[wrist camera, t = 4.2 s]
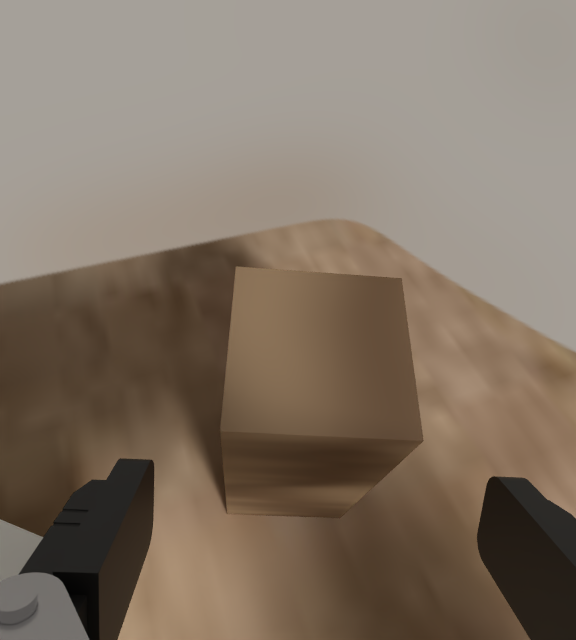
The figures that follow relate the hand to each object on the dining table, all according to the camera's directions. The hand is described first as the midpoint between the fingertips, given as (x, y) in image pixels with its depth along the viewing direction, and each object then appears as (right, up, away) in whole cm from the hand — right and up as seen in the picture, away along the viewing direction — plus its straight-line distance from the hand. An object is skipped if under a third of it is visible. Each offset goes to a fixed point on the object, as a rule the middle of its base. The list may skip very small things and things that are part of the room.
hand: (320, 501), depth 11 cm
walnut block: (-1, -2, +9) cm, 9 cm away
